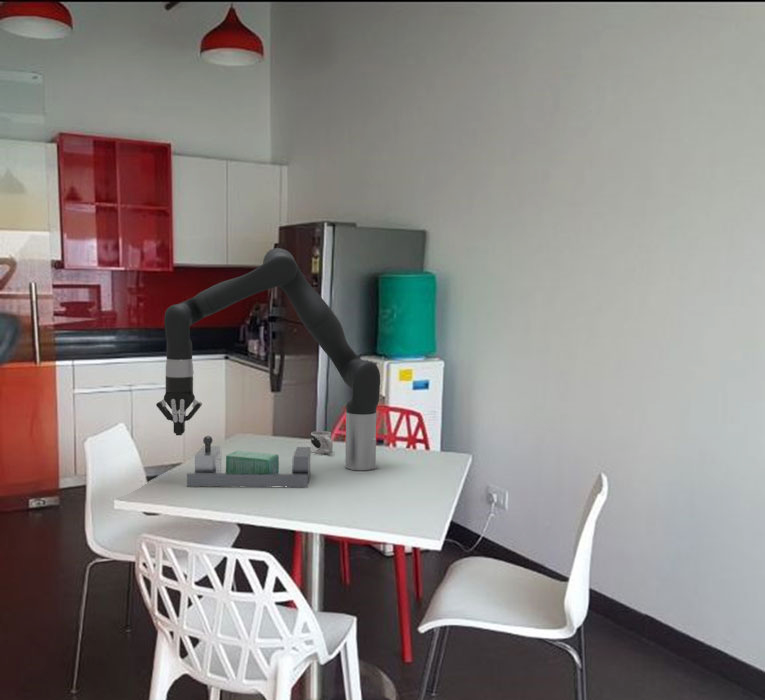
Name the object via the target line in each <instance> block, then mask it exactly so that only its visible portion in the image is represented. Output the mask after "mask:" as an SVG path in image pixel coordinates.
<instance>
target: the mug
mask: <svg viewBox="0 0 765 700" xmlns="http://www.w3.org/2000/svg"><path fill="white" fill-rule="evenodd" d="M333 445H334V444H333V440H332V432H331V431H325V430H318V431H317V430H316V431H312V432H311V433H310V447H311V452H312V453H315V454H326V455H329V454H328V453H330V454H332V453H333ZM312 453H311V454H312ZM315 454H314V455H315Z"/></svg>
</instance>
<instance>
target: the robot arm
mask: <svg viewBox="0 0 765 700" xmlns="http://www.w3.org/2000/svg"><path fill="white" fill-rule="evenodd" d="M276 287H279V288H280V289H281V290H282V291H283V293H284V294H285V295H286V296H287V298H288V300H289V302H290V303H291V305H292V307H293V308H294V311H295V312H296V315H297V316H298V318H299V319H300V322H301V323H302V325H304V327H305V329H306V330H307V331H308V333H309V334H310V335H311V337H312V338H313V339H314V340H315V341H316V342H317V344H318V345H319V346H320V348H321V349H322V350H323V352H324V353H325V354H326V355H327V356H328V358H329V359H330V360H331V362H332V363H333V365H334V366H335V368H336V370H337V372H338V373H339V376H340V378H341V379H342V381H344V383H345V384H346V385H347V386H348V387H349V388H352V397H351V400H350V401H348V402H347V403H346V406H345V407H346V408H345V409H346V411H345V412H346V413H345V415H346V417H345V418H346V419H345V459H344V460H345V461H344V462H345V465H344V467H345V469H348V470H352V471H369V470H376V466H377V465H376V464H377V461H376V458H377V456H376V455H377V428H376V427H377V407H378V404H379V403H380V392H381V391H380V390H381V372H380V370H379V369H380V368H379V367H378V365H377V364H375V362H372V361H369V360H365V359H361V358H360V357H359V356H358V355H357V354H356V353H355V352H354V350H353V349H352V347H351V346H350V345H349V343H348V341H347V339H346V335H345V332H344V329H343V326H342V323H341V321H340V320H339V318H338V316H337V315H336V314H335V313H334V311H333V310H332V308H331V307H330V306H329V305H328V304H327V303H326V301H325V300H324V299H323V298H322V296H321V295H320V294H319V292H317V290H316V289H315V288H314V287H312V285H311V284H310V283H309V282H308V281H307V279H306V277H305V276H304V274H303V272H302V271H301V269H300V267H299V265H298V264H297V262H296V260H295V258H294V256H293V254H292V253H291V252H289V251H288V250H286V249H284V248H279V247H277V248H276V247H275V248H274V247H273V248H272V249H269V251H267V252H266V254H265V255H264V257H263V261H262V264H261V265H259V266H258V267H256V268H255V269H254V270H251V271H250V272H248V273H245V274H242V275H241V276H237V277H234V278H231V279H227V280H224V281H221V282H219V283H216V284H214V285H212V286H210V287H208V288H207V289H203V290H202V291H199V292H198V294H197V293H196V295H195V296H193V297H191V298H189V299H186V300H184V301H182V302H179V303H177V304H173V305H170V306H169V307H168V308H167V309H166V310H165V312H164V313H165V314H164V332H165V338H166V362H165V393H164V395H163V399H162V400H160V401H158V402H156V404H155V405H156V407H157V408H158V410H159V411H160V412H161V414H163V417H165V418H166V420H167V421H171V422H172V423H173V434H175V436H183V434H184V433H185V431H186V429H185V428H186V427H185V426H186V423H185V422H188V421H190V420H191V419H192V418H193V417H194V415H196V414H197V412H198V410H200V408H201V407H202V405H203V403H202V402H200V401H198V400H197V399H196V397H195V394H194V364H193V342H192V340H191V329H190V327H191V326H192V325H193V324H196V323H198V322H199V321H201V320H203V319H204V318H206V317H209V316H212V315H215V313H218V312H220V311H222V310H224V309H226V308H228V307H230V306H232V305H234V304H236V303H237V302H238V303H239V302H240V301H242V300H244V299H246V298H249V297H252V296H253V295H256V294H259V293H262V292H263V291H264V292H265V291H267V290H271V289H273V288H276ZM191 405H192V406H191ZM167 406H168V407H169V409H170V410H171V411H170V410H169V409H168V408H167ZM190 407H192V409H191V410H190V412H189V413H188V414H187V410H188V409H189V408H190Z"/></svg>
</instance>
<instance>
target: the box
mask: <svg viewBox="0 0 765 700" xmlns="http://www.w3.org/2000/svg"><path fill="white" fill-rule="evenodd" d="M225 456H226V457H225V473H271V474H279V473H280V472H279V471H280V469H279V468H280V463H279V462H280V461H279V454H276V453H275V454H274V453H267V452H266V453H265V452H258V451H256V452H255V451H243V450H234V452H230V453H228V454H226V455H225Z"/></svg>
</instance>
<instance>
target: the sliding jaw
mask: <svg viewBox="0 0 765 700" xmlns="http://www.w3.org/2000/svg"><path fill="white" fill-rule="evenodd" d="M203 444H204V445H203V446H202V447H201V448H200V449H199V450H198V451H197V453H195V454H194V473H222V471H223V470H222V469H223V467H222V465H223V464H222V463H223V462H222V458H223V457H222V453H223V451H222V450H221V446H213V445H211V444H213V437H212V436H210V435H207V436H204V437H203Z"/></svg>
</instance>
